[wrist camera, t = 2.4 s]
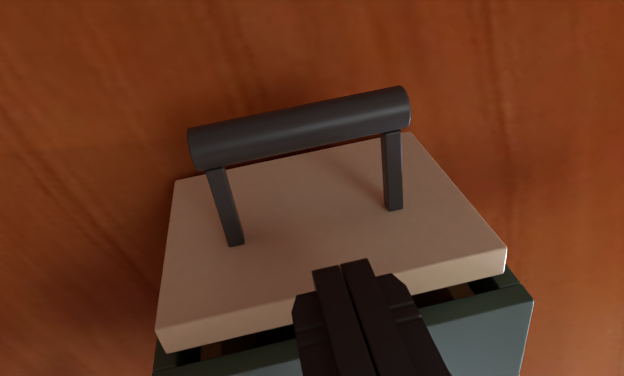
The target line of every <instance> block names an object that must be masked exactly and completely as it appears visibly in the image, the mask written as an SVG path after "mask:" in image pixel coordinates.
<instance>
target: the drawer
mask: <svg viewBox="0 0 624 376" xmlns="http://www.w3.org/2000/svg"><path fill="white" fill-rule="evenodd" d="M410 121H411V108H410V102H409V98H408V95H407V93H406V91H405V89H404V88H403V87H402V86H394V87H389V88H384V89H379V90H374V91H369V92H364V93H359V94H354V95H349V96H344V97H339V98H335V99H330V100H325V101H320V102H315V103H310V104H305V105H300V106H295V107H290V108H285V109H280V110H275V111H270V112H265V113H260V114H255V115H250V116H246V117H241V118H236V119H231V120H226V121H221V122H216V123H211V124H206V125H201V126H196V127H191V128H188V129H187V142H188V147H189V152H190V155H191V159H192V162H193V164H194V166H195V168H196V170H197V171H203V170H205V174H204V175H199V176H194V177H190V178H185V179H180V180H176V181H175V184H174V192H173V199H172V206H171V213H170V221H169V228H168V235H167V242H166V250H165V257H164V264H163V271H162V279H161V286H160V293H159V300H158V308H157V315H156V322H155V329H154V331H155V333H156V335H157V337H158V339H159V341H160V343H161V345H162V347H163V349H164V351H165V353H167V354H169V353H173V352H177V351H181V350H185V349H189V348H194V347H198V346H200V361H203V360H207V359H211V358H215V357H220V356H224V355H228V354H232V353H236V352H240V351H244V350H249V349H253V348H257V347H261V346H265V345H269V344H273V343H278V342H282V341H286V340H290V339H294V338H296V336H295V330H294V325H293V320H292V314H291V311H292V308H293V305H294V301H295V298H296V295H299V294H304V293H308V292H312V291H315V288H314V283H313V277H312V270H316V269H321V268H325V267H330V266H334V265H339V267H340V264H342V263H346V262H351V261H355V260H359V259H364V258H367V259H368V260H369V262H370V265H371V267H372V269H373V272H374V274H375V276H380V275H384V274H389V273H392V274H393V275H394V276H396V277H397V278H398V279H399V280H400V281H402V282H403V283H404V284H405V285H406V286H407V288H408V290H409V292H410V294H411V296H412V298H413V300H414V303H415V305H416V306H417V308H423V307H427V306H431V305H435V304H439V303H443V302H447V301H452V300H456V299H460V298H464V297H468V296H472V295H475V294H474V293H473V291H472V290H471V288H470V287H469V285H468V284H467V282H470V281H474V280H478V279H483V278H487V277H491V276H495V275H499V274H503V273H504V269H505V262H506V255H507V247H506V245H505V244H504V243H503V242H502V241H501V239H500V238H499V237H498V236H497V235H496V233H495V232H494V231H493V230H492V229H491V227H490V226H489V225H488V224H487V223H486V221H485V220H484V219H483V218H482V217H481V215H480V214H479V213H478V212H477V211H476V209H475V208H474V207H473V206H472V205H471V203H470V202H469V201H468V200H467V199H466V197H465V196H464V195H463V194H462V193H461V191H460V190H459V189H458V188H457V187H456V185H455V184H454V183H453V182H452V181H451V180H450V178H449V177H448V176H447V175H446V174H445V172H444V171H443V170H442V169H441V168H440V166H439V165H438V164H437V163H436V162H435V160H434V159H433V158H432V157H431V156H430V154H429V153H428V152H427V151H426V150H425V148H424V147H423V146H422V145H421V144H420V142H419V141H418V140H417V139H416V138H415V136H414V135H413V134H412V133H411V132H410V131H408V132H404V133H401V130H400V129H403V128H407V127H408V126H409V125H410ZM379 133H380V138H375V139H370V140H366V141H361V142H356V143H351V144H347V145H342V146H337V147H332V148H328V149H323V150H318V151H313V152H309V153H304V154H299V155H294V156H290V157H285V158H280V159H275V160H271V161H266V162H261V163H256V164H252V165H247V166H242V167H237V168H232V169H228V170H225V166H227V165H232V164H236V163H241V162H246V161H251V160H255V159H260V158H265V157H270V156H275V155H279V154H284V153H289V152H294V151H298V150H303V149H308V148H313V147H317V146H322V145H327V144H332V143H336V142H341V141H346V140H351V139H356V138H360V137H365V136H370V135H375V134H379Z"/></svg>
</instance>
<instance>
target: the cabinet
mask: <svg viewBox="0 0 624 376" xmlns="http://www.w3.org/2000/svg"><path fill="white" fill-rule="evenodd" d="M467 284H468V285H469V287H470V288H471V290H472V291H473V293H474V294H475V295H472V296H468V297H464V298H460V299H456V300H452V301H447V302H443V303H439V304H435V305H431V306H427V307H423V308H418V310H419V312H420V314H421V318H423V320H424V322H425V324H426V326H427V328H428V330H429V332H430V334H431V336H432V339H433V341H434V343H435V345H436V347H437V349H438V351H439V353H440V355H441V357H442V359H443V361H444V363H445V365H446V367H447V369H448V370H449V372H450V374H451V375H452V376H519V373H520V368H521V363H522V359H523V354H524V349H525V344H526V339H527V334H528V329H529V324H530V319H531V314H532V310H533V305H534V299H533V298H532V297H531V295H530V294H529V293H528V291H527V290H526V289H525V288H524V286H523V285H522V284H520V281H519V280H518V279H517V278H516V276H515V275H514V274H513V273H512V271H511V270H510V269H509V268H508V266H507V265H506V264H505V269H504V273H503V274H499V275H495V276H491V277H487V278H483V279H478V280H474V281H470V282H467ZM152 376H303V374H302V368H301V363H300V358H299V352H298V346H297V341H296V338H294V339H290V340H286V341H282V342H278V343H273V344H269V345H265V346H261V347H257V348H253V349H249V350H244V351H240V352H236V353H232V354H228V355H224V356H220V357H215V358H211V359H207V360H203V361H200V346H198V347H194V348H189V349H185V350H181V351H177V352H173V353H169V354H167V353H165V351H164V349H163V347H162V345H161V343H160V341H159V339H158V337H157V343H156V350H155V358H154V366H153V373H152Z"/></svg>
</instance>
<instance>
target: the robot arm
mask: <svg viewBox="0 0 624 376" xmlns="http://www.w3.org/2000/svg"><path fill="white" fill-rule="evenodd" d="M312 277H313V283H314V288H315V291H312V292H308V293H304V294H299V295H296V298H295V301H294V305H293V308H292V311H291V314H292V320H293V325H294V330H295V336H296V341H297V346H298V352H299V358H300V363H301V368H302V374H303V376H452V375H451V374H450V372H449V370H448V369H447V367H446V365H445V363H444V361H443V359H442V357H441V355H440V353H439V351H438V349H437V347H436V345H435V343H434V341H433V339H432V336H431V334H430V332H429V330H428V328H427V326H426V324H425V322H424V320H423V318H421V314H420V312H419V310H418V308H417V306H416V305H415V303H414V300H413V298H412V296H411V294H410V292H409V290H408V288H407V286H406V285H405V284H404V283H403V282H402V281H400V280H399V279H398V278H397V277H396V276H394V275H393V274H392V273H389V274H384V275H380V276H375V274H374V272H373V269H372V267H371V265H370V262H369V260H368V259H367V258H364V259H359V260H355V261H351V262H346V263H342V264H340V267H339V265H334V266H330V267H325V268H321V269H316V270H312Z"/></svg>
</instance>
